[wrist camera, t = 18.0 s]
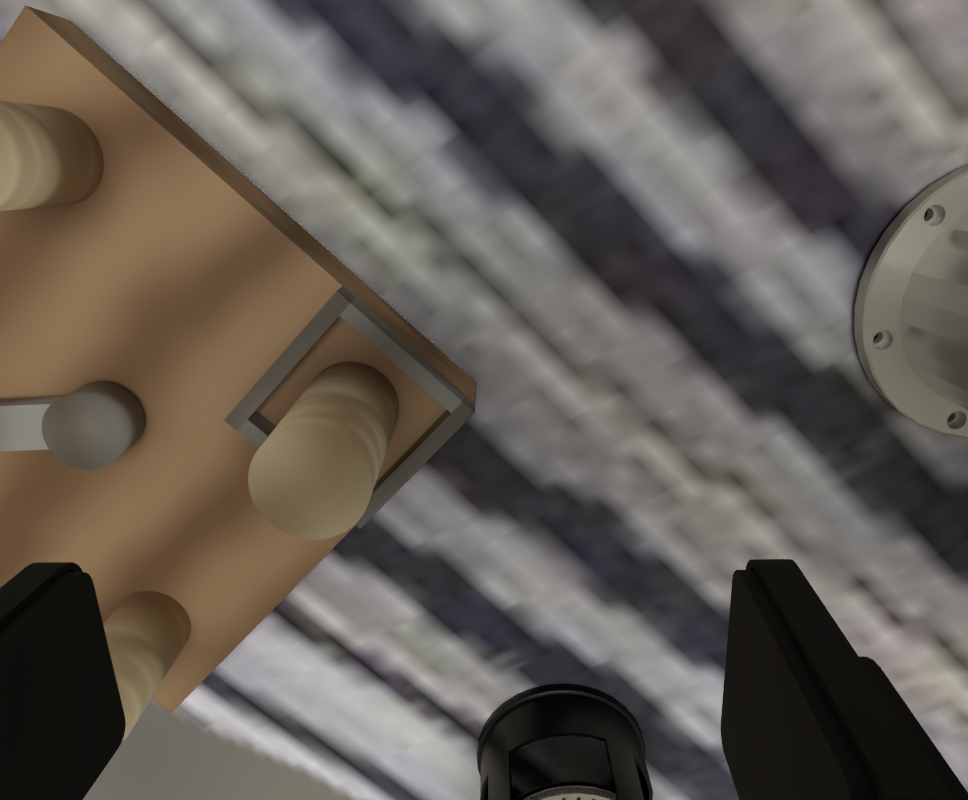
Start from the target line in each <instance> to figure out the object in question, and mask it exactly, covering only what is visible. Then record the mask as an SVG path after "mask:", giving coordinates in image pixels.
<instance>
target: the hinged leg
mask: <svg viewBox="0 0 968 800" xmlns="http://www.w3.org/2000/svg"><path fill="white" fill-rule="evenodd" d="M143 429H144V415H143V412H142V409H141V407H140V405H139V403H138V401H137V400H136V399H135V397H134V396H133V395H132V394H131V393H129V392H128V391H127V390H126V389H124V388H123V387H121V386H119V385H116V384H114V383H110V382H104V381H97V382H91V383H88V384H86V385H84V386H82V387H80V388H78V389H76V390H75V391H73V392H71V393H69V394H67V395H66V396H63V397H40V398H17V399H0V451H24V450H48V449H49V450H50V451H51V452H52V453H53V454H54V455H55V456H56V457H57V458H58V459H59V460H60V461H62V462H63V463H65V464H67V465H69V466H71V467H74V468H77V469H82V470H96V469H100V468H103V467H105V466H107V465H109V464H110V463H111V462H112V461H114V460H115V459H116V458H117V457H119V456H120V455H121V454H122V453H124V452H125V451H126V450H127V449H129V448H130V447H131V446H132V445H134V444H135V443H136V442H137V441H138V440H139V438H140V437H141V434H142V432H143Z"/></svg>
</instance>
